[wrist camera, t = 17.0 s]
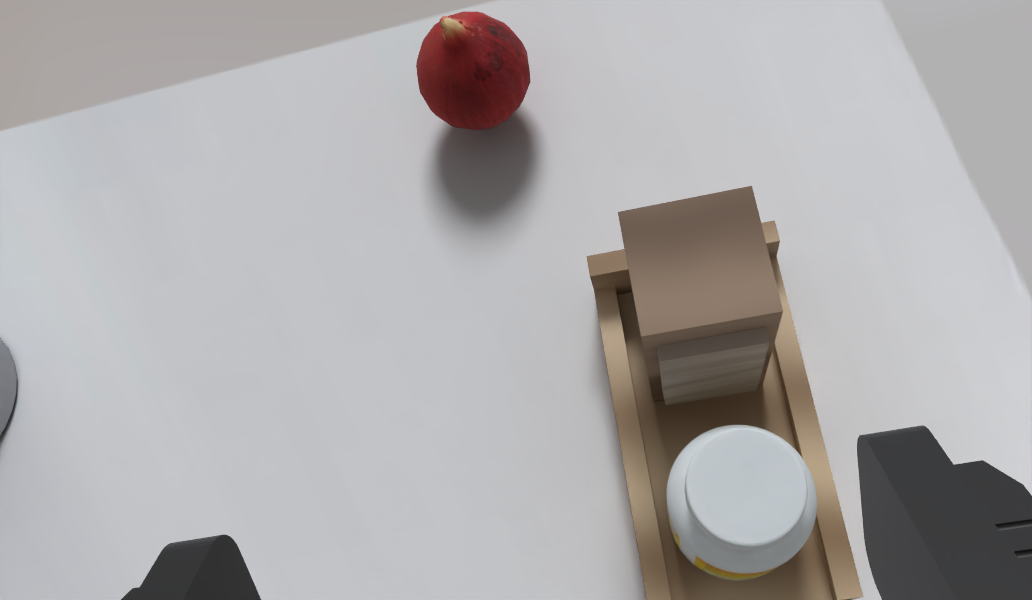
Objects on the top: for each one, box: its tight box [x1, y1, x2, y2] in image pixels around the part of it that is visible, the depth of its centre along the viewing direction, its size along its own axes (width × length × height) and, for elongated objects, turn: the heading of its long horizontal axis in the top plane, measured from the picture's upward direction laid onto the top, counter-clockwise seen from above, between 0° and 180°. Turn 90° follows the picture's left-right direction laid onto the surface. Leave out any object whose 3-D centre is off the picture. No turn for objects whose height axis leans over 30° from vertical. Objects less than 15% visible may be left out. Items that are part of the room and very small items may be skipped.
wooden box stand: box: [587, 186, 863, 600], centre depth 36 cm, size 16×8×12 cm, turn 7°
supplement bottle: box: [666, 425, 817, 581], centre depth 34 cm, size 5×5×10 cm
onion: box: [416, 12, 530, 130], centre depth 46 cm, size 6×6×8 cm
